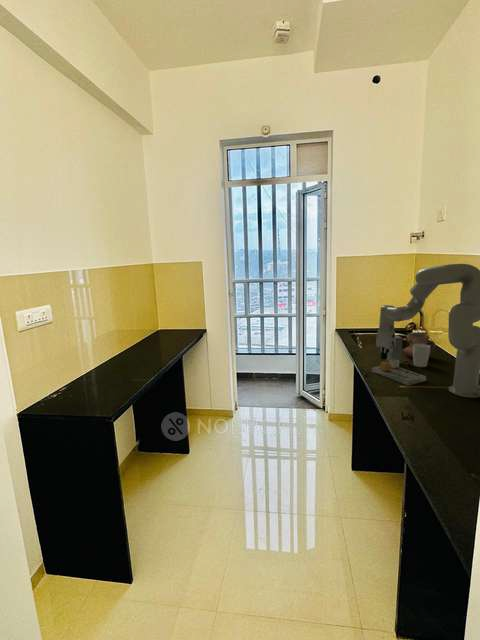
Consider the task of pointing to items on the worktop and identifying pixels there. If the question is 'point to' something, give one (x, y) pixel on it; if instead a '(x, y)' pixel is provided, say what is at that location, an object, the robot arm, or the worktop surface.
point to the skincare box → (396, 351)
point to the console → (400, 375)
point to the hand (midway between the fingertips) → (383, 358)
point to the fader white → (394, 363)
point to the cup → (421, 354)
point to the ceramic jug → (417, 342)
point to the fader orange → (385, 366)
